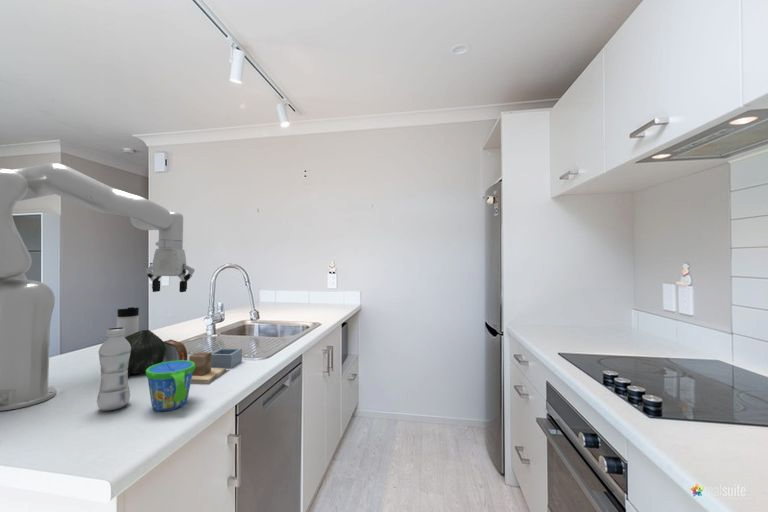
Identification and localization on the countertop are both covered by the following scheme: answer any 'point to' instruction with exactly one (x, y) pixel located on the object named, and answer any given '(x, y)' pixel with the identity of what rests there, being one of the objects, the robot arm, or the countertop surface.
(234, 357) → the dish
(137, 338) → the squash
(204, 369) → the lid
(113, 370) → the plastic bottle
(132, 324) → the travel mug
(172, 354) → the brown curved piece
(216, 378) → the mat
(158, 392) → the snack cup
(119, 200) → the robot arm
